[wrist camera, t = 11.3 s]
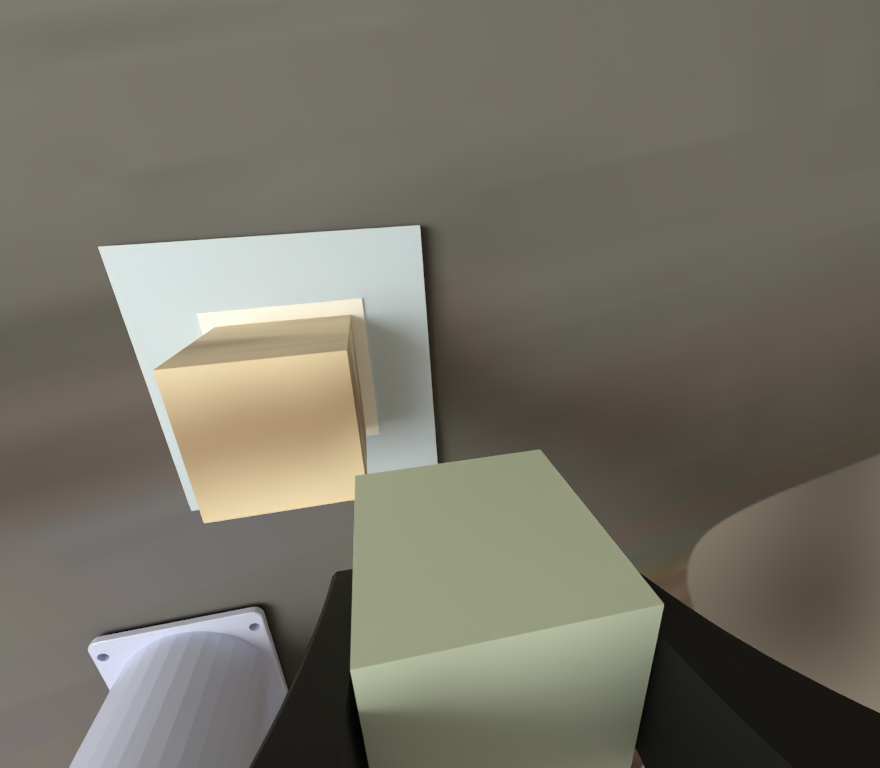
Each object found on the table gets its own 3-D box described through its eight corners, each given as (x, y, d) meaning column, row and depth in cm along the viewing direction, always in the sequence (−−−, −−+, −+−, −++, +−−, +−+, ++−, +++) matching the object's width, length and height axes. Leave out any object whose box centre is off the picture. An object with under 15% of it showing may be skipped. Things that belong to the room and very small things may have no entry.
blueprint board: (436, 465, 20) (438, 473, 19) (196, 502, 18) (190, 512, 18) (417, 225, 16) (420, 225, 15) (108, 245, 14) (96, 246, 14)
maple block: (365, 427, 18) (368, 497, 13) (245, 443, 17) (204, 523, 13) (350, 314, 16) (346, 350, 11) (214, 326, 15) (152, 370, 11)
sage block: (534, 585, 13) (628, 781, 8) (376, 616, 12) (385, 848, 8) (540, 449, 11) (664, 604, 7) (355, 475, 10) (350, 670, 6)
